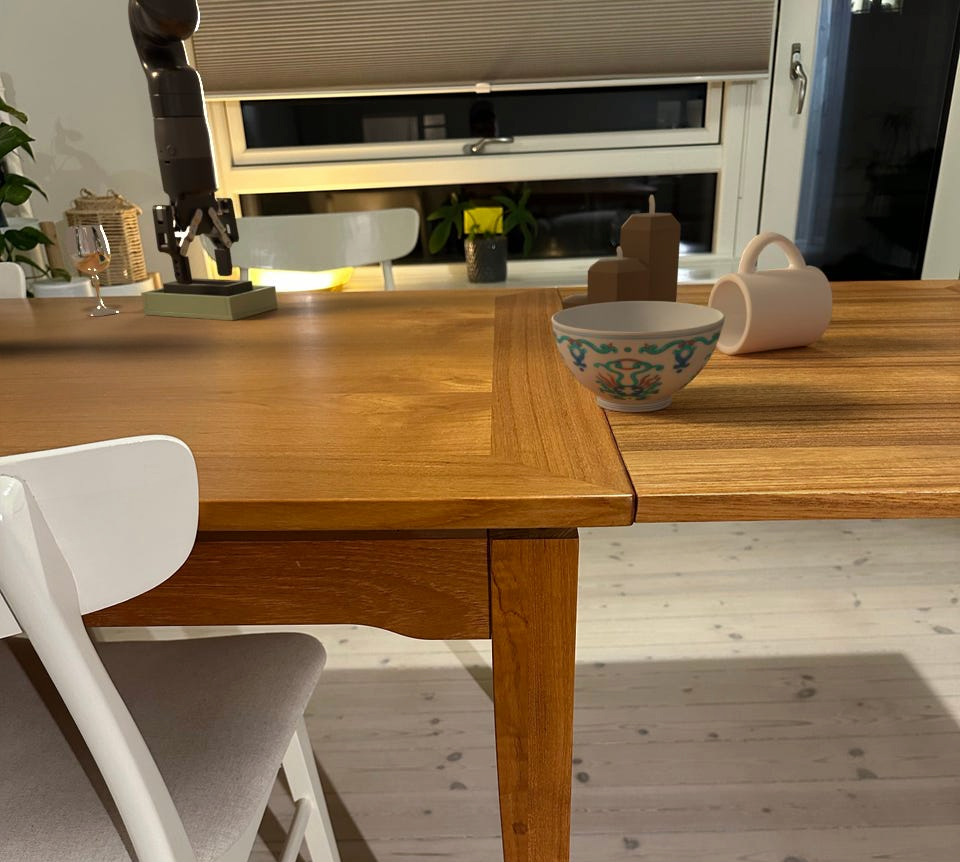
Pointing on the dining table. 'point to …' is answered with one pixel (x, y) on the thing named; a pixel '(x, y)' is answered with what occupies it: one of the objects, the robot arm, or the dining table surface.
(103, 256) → the wineglass
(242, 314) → the tray
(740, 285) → the mug
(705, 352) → the chinaware
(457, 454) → the dining table surface
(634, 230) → the candle
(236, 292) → the dark brown rectangular box
